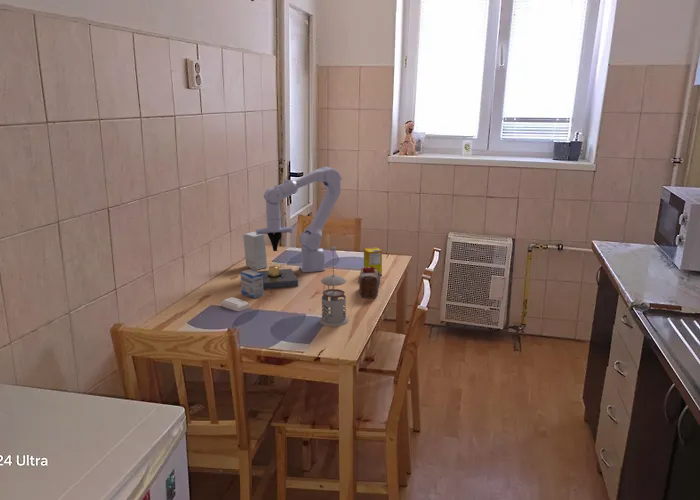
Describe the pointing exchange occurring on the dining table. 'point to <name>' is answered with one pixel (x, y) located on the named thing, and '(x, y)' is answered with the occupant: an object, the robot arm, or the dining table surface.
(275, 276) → the cylinder
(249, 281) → the medicine box
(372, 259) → the supplement box
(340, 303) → the french press
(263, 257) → the skincare box
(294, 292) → the dining table surface
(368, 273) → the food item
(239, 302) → the soap bar
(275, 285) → the jig
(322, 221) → the robot arm
